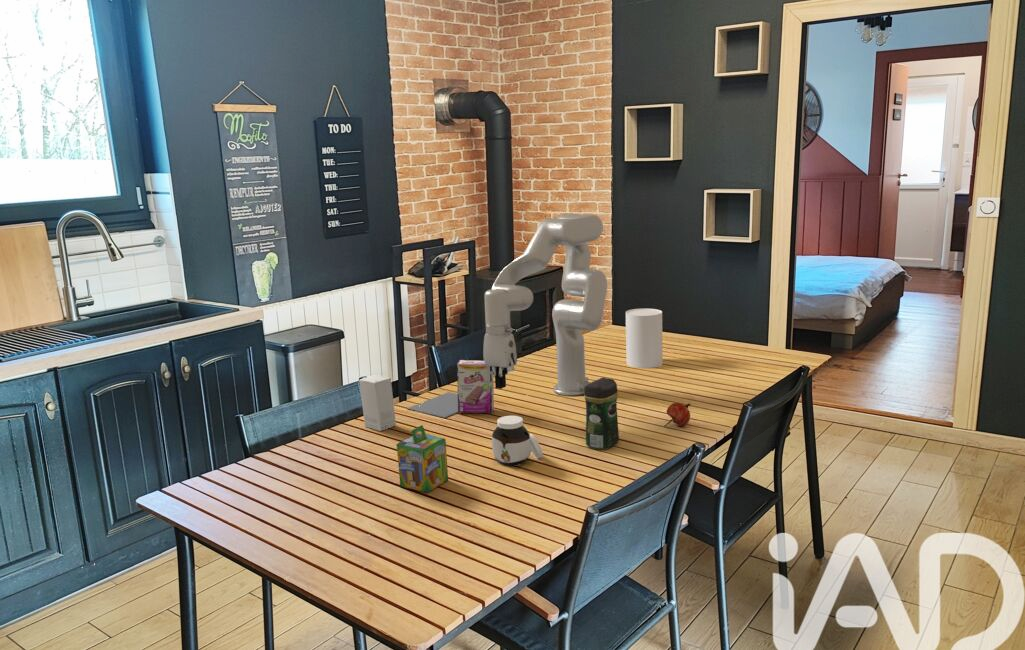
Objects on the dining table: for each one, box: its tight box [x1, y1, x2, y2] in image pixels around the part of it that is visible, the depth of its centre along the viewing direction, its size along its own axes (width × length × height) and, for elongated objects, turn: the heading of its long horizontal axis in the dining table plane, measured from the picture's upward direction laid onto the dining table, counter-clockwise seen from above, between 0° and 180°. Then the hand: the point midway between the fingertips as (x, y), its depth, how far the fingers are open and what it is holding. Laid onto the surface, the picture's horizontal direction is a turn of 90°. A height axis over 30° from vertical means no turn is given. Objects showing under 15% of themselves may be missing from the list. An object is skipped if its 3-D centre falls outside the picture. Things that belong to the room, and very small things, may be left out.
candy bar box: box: [456, 359, 495, 414], centre depth 246 cm, size 11×5×16 cm, turn 84°
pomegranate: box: [663, 402, 691, 428], centre depth 226 cm, size 7×7×10 cm
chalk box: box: [396, 424, 449, 494], centre depth 194 cm, size 9×9×15 cm
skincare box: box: [358, 374, 397, 432], centre depth 237 cm, size 8×7×16 cm
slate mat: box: [406, 391, 459, 419], centre depth 256 cm, size 17×20×1 cm
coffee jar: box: [583, 377, 620, 450], centre depth 213 cm, size 10×8×19 cm
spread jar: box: [491, 415, 544, 467], centre depth 206 cm, size 12×11×12 cm
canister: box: [625, 307, 663, 369], centre depth 292 cm, size 14×14×20 cm
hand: (500, 387), depth 239 cm, fingers closed
